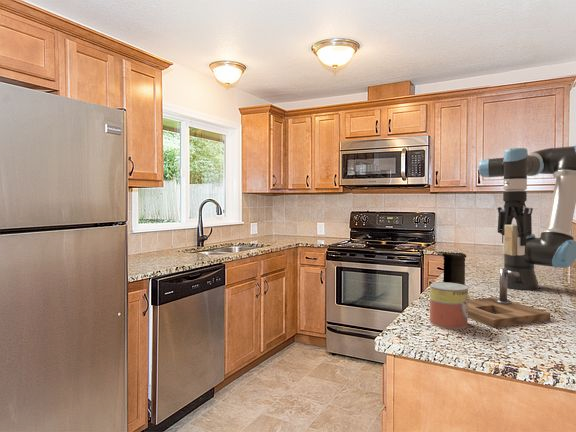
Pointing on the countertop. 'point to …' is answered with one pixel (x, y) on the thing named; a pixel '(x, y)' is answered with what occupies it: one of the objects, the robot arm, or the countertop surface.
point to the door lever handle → (505, 285)
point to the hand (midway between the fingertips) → (513, 253)
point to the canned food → (449, 305)
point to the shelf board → (503, 313)
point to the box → (510, 240)
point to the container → (454, 268)
